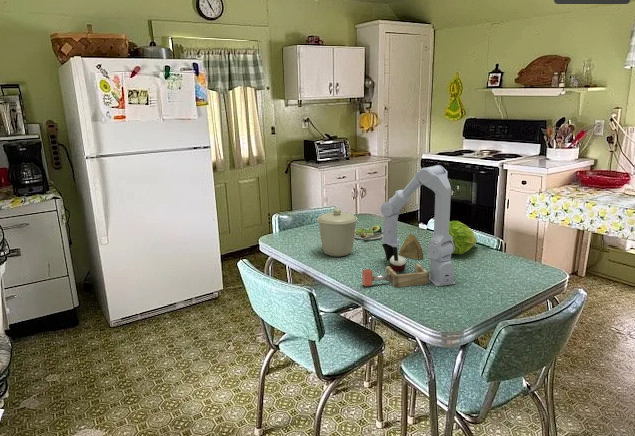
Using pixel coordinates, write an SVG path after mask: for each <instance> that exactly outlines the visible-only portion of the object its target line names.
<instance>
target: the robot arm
mask: <svg viewBox="0 0 635 436" xmlns="http://www.w3.org/2000/svg"><path fill="white" fill-rule="evenodd" d="M448 178H449V177H448V170H447V169H445V167H443V166H442V165H439V164H436V165H433V166H428V167H422V168H421V169H419V170H418V171H417V172H416V173H415V174H414V177H412V179H411V180H410V181H409V183H407V185H406V186H405V187H404V189H399V190H396V191H395V192H394V195H393V196H391V198H388V202H383V203H382V204H381V206H380V212H381V214H382V216H383V229H382V230H383V235H382V238H381V241H382V244H381V246H382V248H383V250H384V253H385V258H386V261H387V262H390V258H391V257H392V256H393V255H394V252H393V247H397V251H398V250H399V249H400V245H399V243H400V239H399V238H398V222H399V221H398V220H399V219H398V218H399V214H400V213H401V212H402V208H403V207H404V206H405V205H406V204H408V202H409V201H410V199H411V195H412V194H413V193H414V192H416V191H417V190H418V189H419V188H420V187H421V186H422V185H423V186H425V187H427V188H428V189H430V190H431V191H432V192H434V194H435V195H434V217H433V218H434V219H433V220H434V221H433V223H434V224H433V234H432V236H431V238H430V239H429V244H428V246H427V248H426V249H427V254H428V257H429V258H430V268H429V269H430V271H429V282H431V283H432V284H433V285H435V286H436V287H439V286H440V287H441V286H449V285H455V284H456V281H454V278H455V267H454V266H453V264H452V261H451V258H452V255H453V254H452V253H453V252H454V250H455V246H454V243H453V237H452V236H450V235H449V222H451V220H450V217H451V197H452V187H451V184H450V181H449V179H448ZM399 251H400V250H399Z"/></svg>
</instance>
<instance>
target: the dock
mask: <svg viewBox="0 0 635 436" xmlns="http://www.w3.org/2000/svg"><path fill="white" fill-rule="evenodd" d="M385 275H391V277H392V278H391V279H388V281H389V282H391V283H392V285H393V287H395V288H402V287H412V286H421V285H429V284H430V280H429V275H430V271H428V270H427V269H426V268H424V267H423V266H422V265H420V264H419V263H414V272H412V273H411V272H410V273H401V274H397V272H394V271H393V270H392V269H391V266H386V267H385Z"/></svg>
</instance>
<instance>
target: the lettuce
mask: <svg viewBox="0 0 635 436" xmlns="http://www.w3.org/2000/svg"><path fill="white" fill-rule="evenodd" d="M449 235H450V236H452V237H453V243H454V246H455V250H454V252H453V253H452V254H451V255H464V253H466V252H468V251H470V250H471V249H472V247H473V246H474V245H475V244H477V242H478V239H477V237H476V235H475V233H474V231H473V230H472V229H471V228H470V227H469V226H467V225H466V224H464V223H462V222H461V221H459V220H452V221H451V220H450V221H449Z"/></svg>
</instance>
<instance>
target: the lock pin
mask: <svg viewBox="0 0 635 436" xmlns="http://www.w3.org/2000/svg"><path fill="white" fill-rule="evenodd" d="M361 275H362V277H361V278H362V279H361V282H362V285H364V286H363V287H370V286H373V282H377V281H378V282H379V281H387V280H388V279H391V278H392V277H391V275H386V274H383V275H373V270H371V268H367V269H362V270H361ZM388 281H389V280H388Z"/></svg>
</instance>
